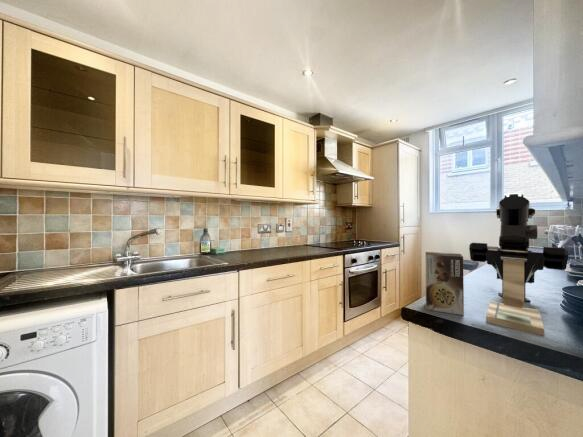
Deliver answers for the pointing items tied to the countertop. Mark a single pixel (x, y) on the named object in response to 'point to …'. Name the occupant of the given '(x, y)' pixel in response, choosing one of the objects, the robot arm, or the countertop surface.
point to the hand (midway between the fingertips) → (513, 280)
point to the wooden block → (513, 283)
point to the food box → (444, 282)
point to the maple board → (515, 318)
